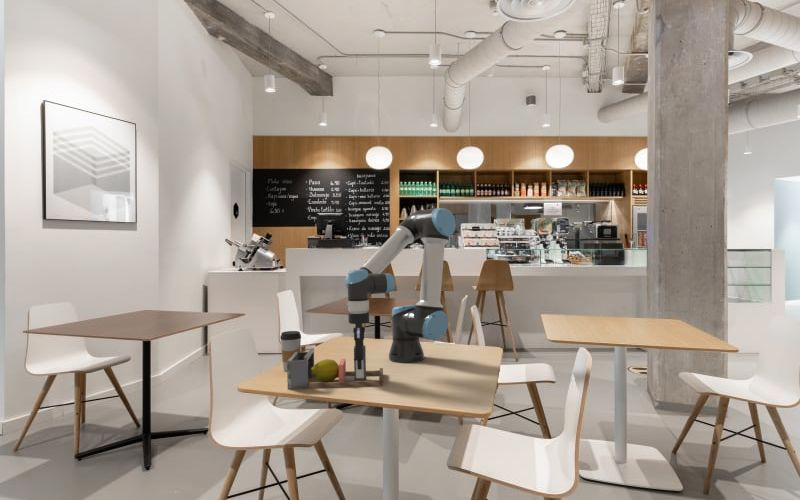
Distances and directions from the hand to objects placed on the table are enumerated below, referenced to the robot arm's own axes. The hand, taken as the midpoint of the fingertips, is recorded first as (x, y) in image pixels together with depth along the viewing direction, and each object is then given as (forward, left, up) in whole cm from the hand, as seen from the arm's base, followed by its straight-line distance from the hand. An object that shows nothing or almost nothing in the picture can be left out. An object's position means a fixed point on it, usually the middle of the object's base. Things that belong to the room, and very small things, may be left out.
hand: (360, 376), depth 174 cm
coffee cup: (+29, -19, -2) cm, 35 cm away
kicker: (+3, 0, -1) cm, 3 cm away
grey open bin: (+21, 0, -2) cm, 21 cm away
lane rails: (+5, 0, -2) cm, 5 cm away
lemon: (+12, 0, -2) cm, 13 cm away
